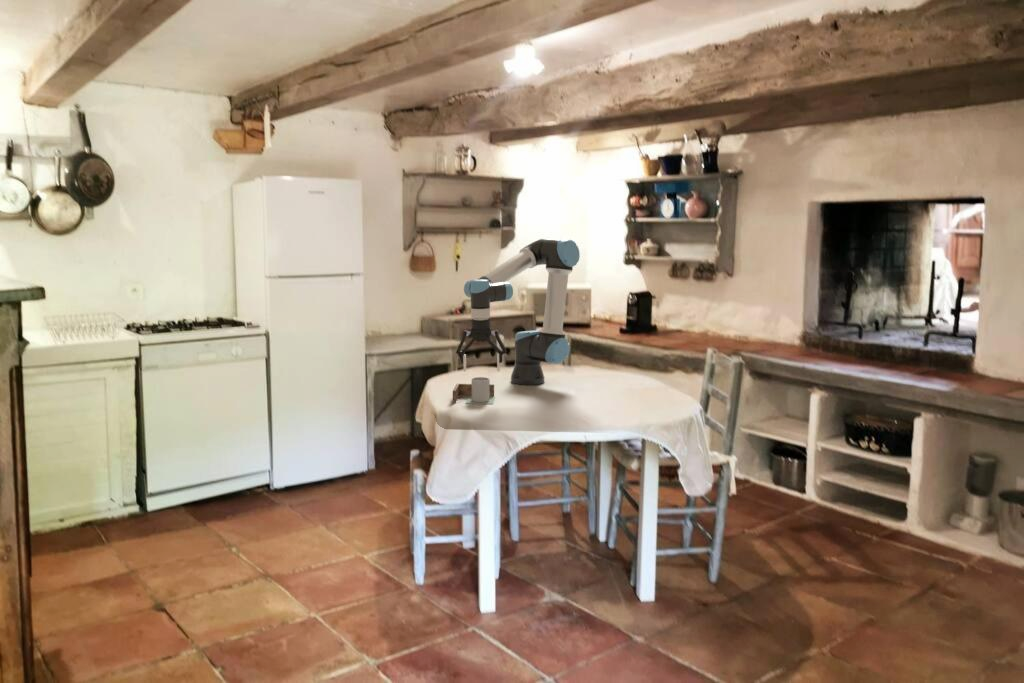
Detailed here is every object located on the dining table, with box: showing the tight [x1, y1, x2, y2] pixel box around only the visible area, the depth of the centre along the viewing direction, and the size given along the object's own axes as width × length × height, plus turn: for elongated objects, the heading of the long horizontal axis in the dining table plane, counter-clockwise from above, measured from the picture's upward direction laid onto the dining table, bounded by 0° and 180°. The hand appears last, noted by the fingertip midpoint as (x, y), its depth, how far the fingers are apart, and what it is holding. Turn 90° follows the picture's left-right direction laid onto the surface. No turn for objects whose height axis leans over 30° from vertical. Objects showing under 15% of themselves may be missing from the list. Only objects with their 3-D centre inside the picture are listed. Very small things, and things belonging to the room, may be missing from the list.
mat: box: [465, 396, 496, 405], centre depth 321 cm, size 11×12×1 cm
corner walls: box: [452, 383, 495, 404], centre depth 322 cm, size 16×14×5 cm
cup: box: [471, 376, 491, 403], centre depth 320 cm, size 7×10×9 cm
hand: (481, 370), depth 320 cm, fingers open, 13 cm apart
